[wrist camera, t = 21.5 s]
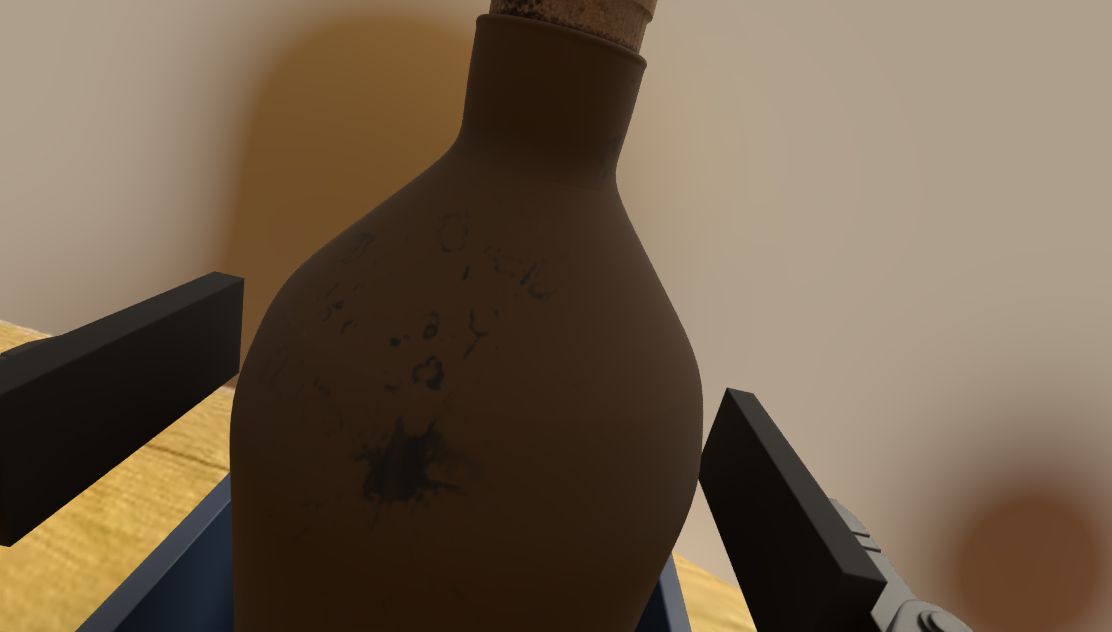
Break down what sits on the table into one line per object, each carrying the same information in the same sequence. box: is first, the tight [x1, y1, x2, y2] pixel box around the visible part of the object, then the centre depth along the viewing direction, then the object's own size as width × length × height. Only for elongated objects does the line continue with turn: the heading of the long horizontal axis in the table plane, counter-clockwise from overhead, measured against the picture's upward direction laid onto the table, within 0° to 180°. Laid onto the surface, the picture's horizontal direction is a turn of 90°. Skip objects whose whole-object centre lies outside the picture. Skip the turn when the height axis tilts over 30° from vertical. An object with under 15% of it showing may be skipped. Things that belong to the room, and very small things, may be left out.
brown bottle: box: [230, 0, 703, 632], centre depth 14 cm, size 11×11×25 cm
